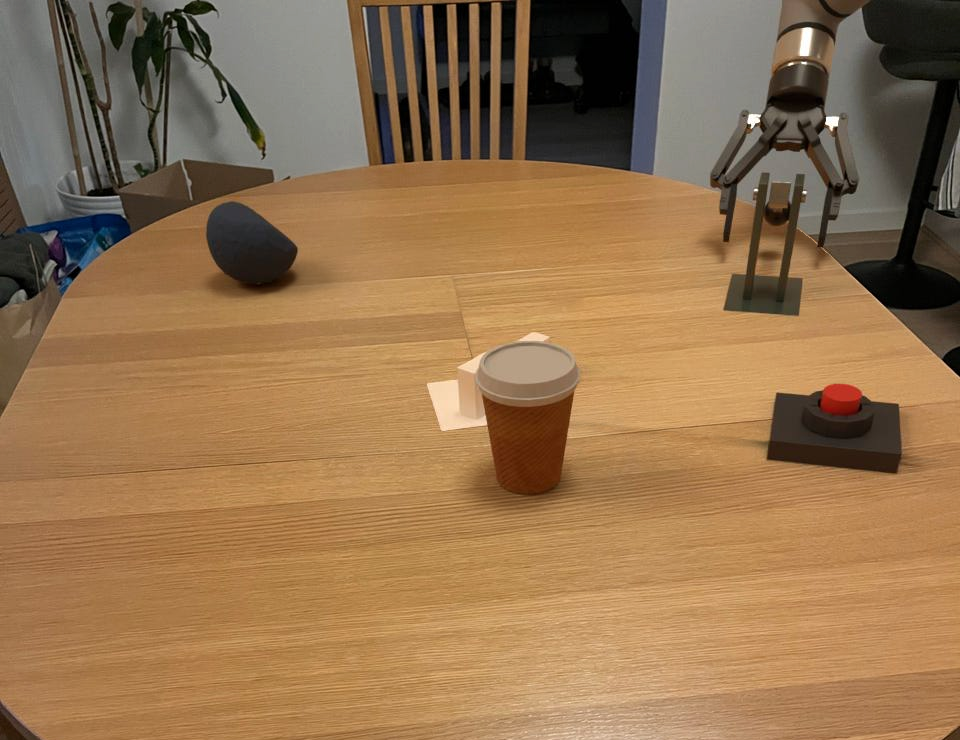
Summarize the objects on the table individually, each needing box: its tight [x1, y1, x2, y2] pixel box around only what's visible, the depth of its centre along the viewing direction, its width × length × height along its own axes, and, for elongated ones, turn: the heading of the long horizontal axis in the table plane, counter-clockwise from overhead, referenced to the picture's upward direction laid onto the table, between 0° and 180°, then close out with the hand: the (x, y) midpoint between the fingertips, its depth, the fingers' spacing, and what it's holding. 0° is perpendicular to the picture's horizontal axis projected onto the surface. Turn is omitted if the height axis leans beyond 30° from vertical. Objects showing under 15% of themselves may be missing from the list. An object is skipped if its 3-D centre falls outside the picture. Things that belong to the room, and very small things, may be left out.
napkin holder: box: [426, 331, 551, 432], centre depth 104 cm, size 15×11×6 cm
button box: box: [766, 389, 903, 474], centre depth 95 cm, size 12×10×4 cm
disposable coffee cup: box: [475, 340, 581, 495], centre depth 90 cm, size 10×10×12 cm
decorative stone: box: [205, 200, 299, 285], centre depth 131 cm, size 12×12×10 cm
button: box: [820, 383, 863, 416], centre depth 93 cm, size 4×4×2 cm
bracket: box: [722, 172, 808, 317], centre depth 117 cm, size 12×9×15 cm
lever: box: [763, 181, 792, 227], centre depth 120 cm, size 17×4×4 cm, turn 164°
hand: (773, 240), depth 126 cm, fingers open, 11 cm apart
